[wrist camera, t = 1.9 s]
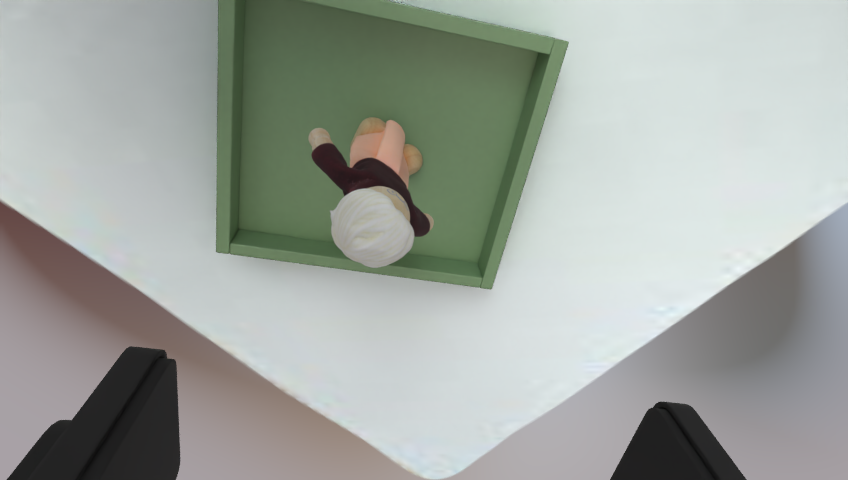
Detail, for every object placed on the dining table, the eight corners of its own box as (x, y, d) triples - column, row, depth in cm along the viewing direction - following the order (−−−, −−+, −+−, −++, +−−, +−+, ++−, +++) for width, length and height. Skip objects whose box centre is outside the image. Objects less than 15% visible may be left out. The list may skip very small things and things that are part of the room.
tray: (227, 235, 31) (215, 252, 29) (232, -34, 24) (217, -37, 22) (484, 271, 34) (491, 289, 32) (554, 38, 27) (569, 41, 25)
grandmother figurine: (449, 149, 29) (489, 247, 18) (417, 200, 31) (435, 320, 19) (336, 83, 27) (300, 148, 16) (306, 141, 28) (254, 238, 17)
